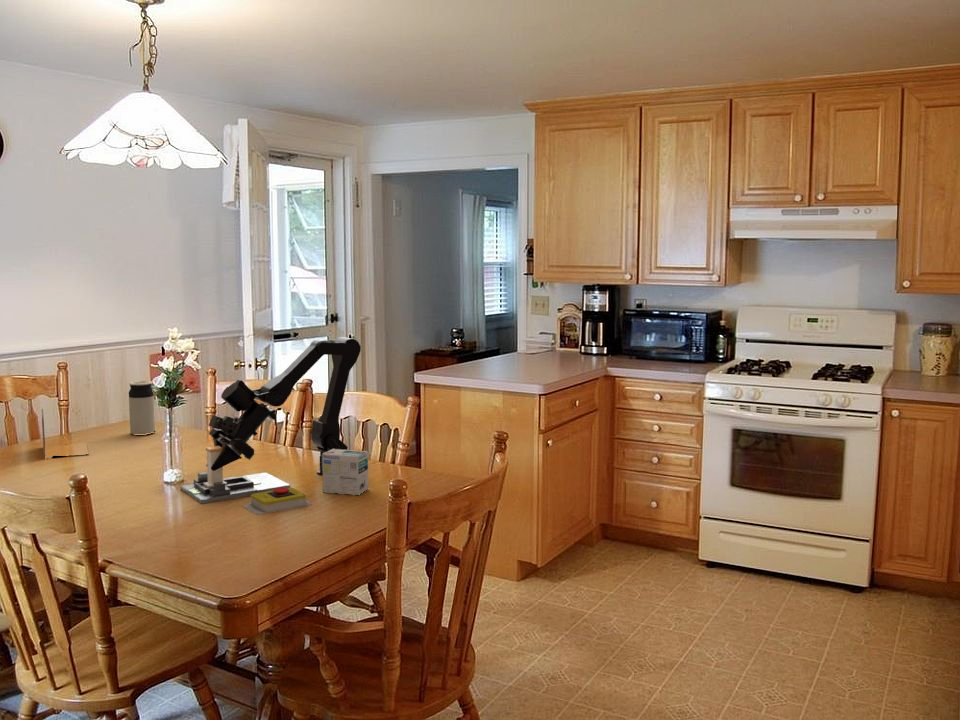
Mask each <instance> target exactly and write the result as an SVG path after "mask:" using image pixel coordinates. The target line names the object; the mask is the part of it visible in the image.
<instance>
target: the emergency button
mask: <svg viewBox="0 0 960 720" xmlns="http://www.w3.org/2000/svg"><path fill="white" fill-rule="evenodd" d="M311 505H312V502H311V501H308V500H307V495H306V493H304V492H302V491H300V490H298V489H296V488H294V487H292V486H290V487H289V488H283V487H282V488H276V489H274V490H272V491H266V492H260V493H254V494H252V495H250V503H248V504H244V505H242V508H244V509H246V510H248V511H249V512H251V513H253V514H254V515H257V516H260V515H265V514H271V513H275V512H280V511H286V510H291V509H296V508H297V509H298V508H301V507H306V506H311Z"/></svg>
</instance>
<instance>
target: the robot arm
mask: <svg viewBox="0 0 960 720" xmlns="http://www.w3.org/2000/svg"><path fill="white" fill-rule="evenodd" d="M361 347H362V346H361V344H360V342H359V341H358V340H357V339H354V338H349V337H345V336H339V337H338V338H336V339H334V340H333V339H326V340H320V339H315V340H313V341H311V343H310V344H309V345H308V346H307V348H305V349H304V350H303V352H301V354H300V355H298V357H297V358H296V359H295V360H294V361H292V363H290V365H289V366H288V367H287V368H286V369H284V371H283V372H281V373H280V374H278V375H277V376H275V377H272V378H271V379H269V380H268V381H267V382H265V383H264V384H263V385H261V386H260V388H255V389H251V388H249V387H248V386H247V384H246V383H245V382H244V381H243V380H242V379H237V380H236V381H234V382H233V383H231V384H230V385H229V386H227V387H225V389H224V390H223V392H222V393H221V395H220V396H221V397H220V398H221V399H222V400H223V401H224V402H225V403H227V404H228V405H229V406H230V407H232V408H233V409H234V410H235V411H236V412H242V413H241V415H240V416H239V417H231V416H229V415H225V416H224V417H222V416H219V415H216V414H212V416H211V419H210V420H209V424H208V427H211V428H212V429H211V430H210V431H209V432H208V435H209V436H210V437H212V441H213V446H220V447H222V452H221V453H220V455H219V456H218V458H217V459H216V461H215V462H214V464H213V465H212V467H211V469H212V470H213V471H215V470H217V469H219V468H221V467H225V466H226V465H229V464H231V463H234V462H236V461H237V460H241V459H242V458H243V456H244V458H245V459H247V460H249V461H251V459H252V458H253V457H254V456H255V449H254V448H253V447H251V445H249V444H248V441H249V440H250V439H251V438H252V436H254V437H255V436H256V435H258V432H257V431H258V429H259V428H260V427H261V425H262V424H264V422H265V421H266V420H267V418H269V420H274V421H276V420H277V417H276V409H273V408H269V407H268V406H267V405H270V406H271V407H281V406H282V405H284V404H285V402H286V401H287V400H288V398H289V396H291V394H292V391H293V389H294V387H295V385H296V384H297V382H299V381H300V380H301V378H303V377H304V375H306V374H307V373H308V371H309V370H311V368H313V366H314V365H315V364H317V363H318V361H319V360H320V359H321V358H322V357H323V356H324V355H327V356H329V355H330V356H331V360H332V367H333V368H332V370H331V376H330V379H329V384H328V389H327V391H326V392H327V393H326V397H325V401H324V405H323V409H322V414H321V416H320V417H319V418H318V420H315V419H314V420H312V425H311V426H312V427H311V430H310V432H309V434H310V439H311V441H312V443H313V444H314V445H315V446H316V448H317V451H319V454H320V455H319V470H317V471H316V474H317V475H322V476H323V467H322V454H323V453H325V452H327V451H329V450H331V449H341V450H348V446H347V445H346V444H345V443H344V442H343V441H342V440H341V439H340V438H341V437H340V436H341V427H340V420H339V418H340V414H341V409H342V406H343V401H344V397H345V392H346V390H347V389H346V388H347V385H348V384H347V383H348V381H349V380H348V379H349V375H350V373H351V372H350V371H351V369H352V368H353V367H354V366H355V365H356V363H357V362H358V358H359V356H360V353H361V351H362V350H361V349H362V348H361ZM256 400H258V401H260V403H259V402H257V401H256ZM261 402H262V403H261ZM266 404H267V405H266ZM241 455H243V456H241ZM206 467H207V464H206Z"/></svg>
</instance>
